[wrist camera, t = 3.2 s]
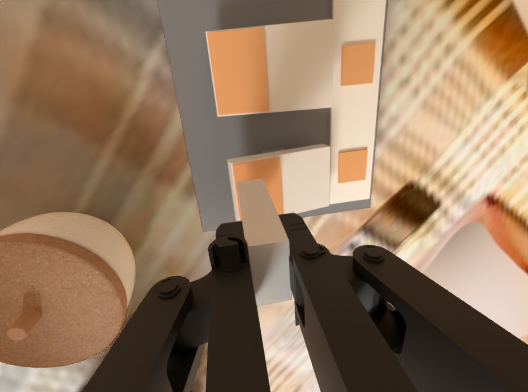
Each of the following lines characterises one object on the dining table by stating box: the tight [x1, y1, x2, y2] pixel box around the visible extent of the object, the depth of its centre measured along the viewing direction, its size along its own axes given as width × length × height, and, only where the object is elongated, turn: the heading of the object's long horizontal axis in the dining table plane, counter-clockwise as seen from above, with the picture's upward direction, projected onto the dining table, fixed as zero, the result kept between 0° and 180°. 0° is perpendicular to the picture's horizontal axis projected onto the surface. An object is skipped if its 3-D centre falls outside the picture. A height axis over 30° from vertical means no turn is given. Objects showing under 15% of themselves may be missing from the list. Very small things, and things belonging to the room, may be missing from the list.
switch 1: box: [205, 19, 334, 117], centre depth 15 cm, size 4×7×1 cm, turn 95°
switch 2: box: [227, 144, 330, 221], centre depth 18 cm, size 4×7×1 cm, turn 95°
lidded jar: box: [0, 212, 136, 368], centre depth 20 cm, size 11×11×9 cm
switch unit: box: [157, 0, 388, 232], centre depth 19 cm, size 22×14×5 cm, turn 5°
